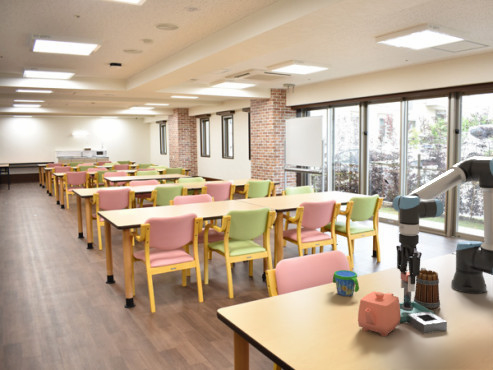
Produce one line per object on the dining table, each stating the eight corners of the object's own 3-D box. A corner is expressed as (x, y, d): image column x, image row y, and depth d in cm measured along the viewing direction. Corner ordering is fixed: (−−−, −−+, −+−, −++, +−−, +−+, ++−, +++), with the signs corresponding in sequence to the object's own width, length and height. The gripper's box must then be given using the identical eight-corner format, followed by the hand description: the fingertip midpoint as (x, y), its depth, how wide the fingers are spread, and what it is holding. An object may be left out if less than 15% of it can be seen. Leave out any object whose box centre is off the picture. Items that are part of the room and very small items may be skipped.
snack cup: (365, 297, 191) (365, 276, 190) (346, 301, 187) (346, 279, 186) (344, 287, 205) (344, 267, 204) (326, 290, 201) (326, 270, 200)
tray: (413, 306, 179) (413, 301, 179) (434, 318, 167) (434, 312, 166) (381, 310, 175) (381, 305, 175) (399, 323, 163) (399, 317, 163)
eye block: (428, 319, 166) (429, 311, 165) (446, 330, 156) (446, 321, 156) (407, 322, 163) (407, 314, 163) (423, 333, 153) (424, 324, 153)
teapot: (382, 345, 145) (383, 306, 144) (349, 334, 154) (350, 297, 152) (406, 324, 162) (406, 289, 160) (375, 316, 170) (375, 282, 169)
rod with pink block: (399, 307, 172) (399, 272, 171) (408, 306, 173) (409, 271, 172) (405, 311, 168) (406, 275, 167) (415, 310, 169) (415, 274, 168)
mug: (442, 311, 174) (443, 276, 172) (416, 309, 176) (417, 275, 175) (433, 298, 189) (434, 266, 188) (409, 296, 191) (410, 265, 190)
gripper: (388, 230, 175) (387, 283, 177) (414, 238, 159) (412, 297, 161) (404, 229, 177) (402, 282, 179) (430, 237, 161) (429, 295, 163)
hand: (407, 289), depth 170 cm, fingers closed on rod with pink block, 4 cm apart
